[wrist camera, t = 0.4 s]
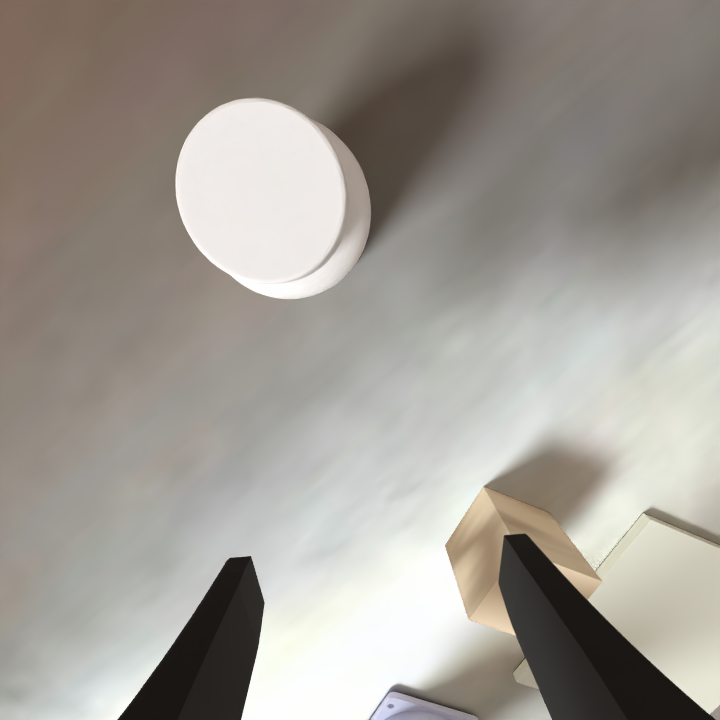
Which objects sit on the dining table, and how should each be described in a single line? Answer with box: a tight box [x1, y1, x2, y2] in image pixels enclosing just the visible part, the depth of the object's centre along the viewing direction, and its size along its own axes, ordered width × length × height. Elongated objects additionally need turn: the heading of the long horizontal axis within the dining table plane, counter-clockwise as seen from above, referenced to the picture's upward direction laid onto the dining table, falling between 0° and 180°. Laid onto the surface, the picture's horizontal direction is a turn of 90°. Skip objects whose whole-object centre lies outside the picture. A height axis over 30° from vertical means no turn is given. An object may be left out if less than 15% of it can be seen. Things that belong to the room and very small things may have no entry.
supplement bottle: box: [176, 98, 371, 299], centre depth 13 cm, size 5×5×10 cm
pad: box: [513, 513, 720, 714], centre depth 25 cm, size 16×16×1 cm
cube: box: [445, 487, 603, 636], centre depth 20 cm, size 5×5×5 cm
